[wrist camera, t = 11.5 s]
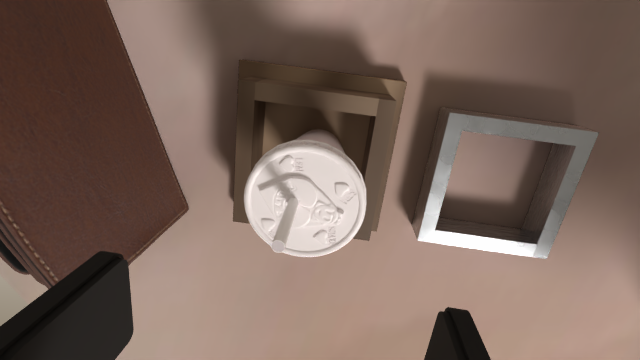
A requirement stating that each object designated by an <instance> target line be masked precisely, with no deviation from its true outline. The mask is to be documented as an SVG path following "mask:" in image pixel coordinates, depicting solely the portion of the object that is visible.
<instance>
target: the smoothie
mask: <svg viewBox="0 0 640 360" xmlns="http://www.w3.org/2000/svg"><path fill="white" fill-rule="evenodd" d="M244 206H245V211H246V214H247V217H248V220H249V222H250V224H251V226H252V227H253V229H254V230H255V232H256V233H257V234H258V235H259V236H260V237H261V238H262V239H263V240H264V241H265V242H266V243H267V244H269V245H270V246H271V248H272V249H273V251H275V252H278V253H279V252H283V253H286V254H289V255H293V256H299V257H317V256H322V255H326V254H329V253H332V252H334V251H336V250H338V249H340V248H342V247H343V246H344V245H346V244H347V243H348V242H349V241H350V240H351V239H352V238H353V237H354V236H355V235H356V233H357V232H358V230H359V229H360V227H361V225H362V222H363V220H364V216H365V211H366V187H365V184H364V180H363V177H362V174H361V173H360V171H359V170H358V168H357V167H356V165H355V163H354V162H353V161H352V160H351V159H350V158H349V157H348V156H347V155H345V152H344V150H343V148H342V146H341V144H340V142H339V140H338V139H337V138H336V137H335V136H334V135H333V134H332V133H330V132H328V131H325V130H320V129H316V130H311V131H308V132H306V133H304V134H303V135H302V136H300V137H299V138H297V139H296V140H292V141H289V142H286V143H283V144H280V145H277V146H276V147H274V148H273V149H271V150H270V151H268V152H266V153H265V154H264V155H263V156H262V157H261V159H260V160H259V161H258V162H257V163H256V164H255V166H254V168H253V170H252V172H251V173H250V175H249V177H248V180H247V182H246V186H245V191H244Z"/></svg>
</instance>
